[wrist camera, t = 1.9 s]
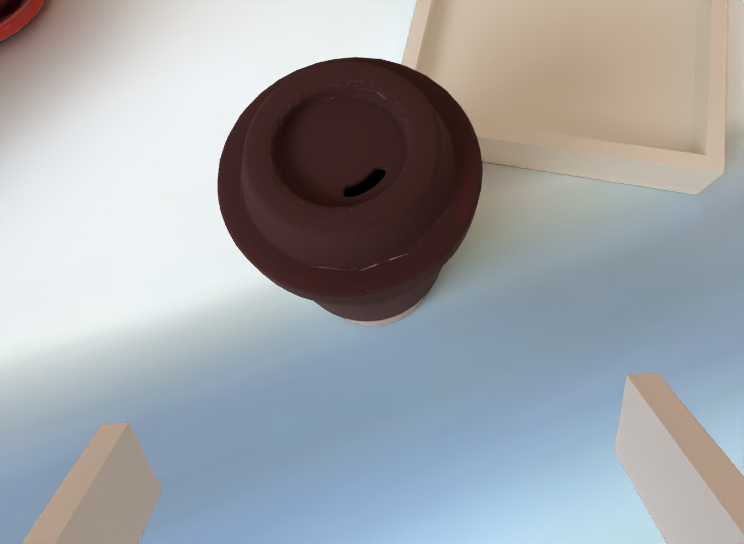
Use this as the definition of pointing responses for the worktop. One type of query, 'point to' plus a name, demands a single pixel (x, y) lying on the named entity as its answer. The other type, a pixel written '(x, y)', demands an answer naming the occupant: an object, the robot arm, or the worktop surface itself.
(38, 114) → the worktop surface
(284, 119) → the coffee cup
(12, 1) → the plant pot
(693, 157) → the tray
